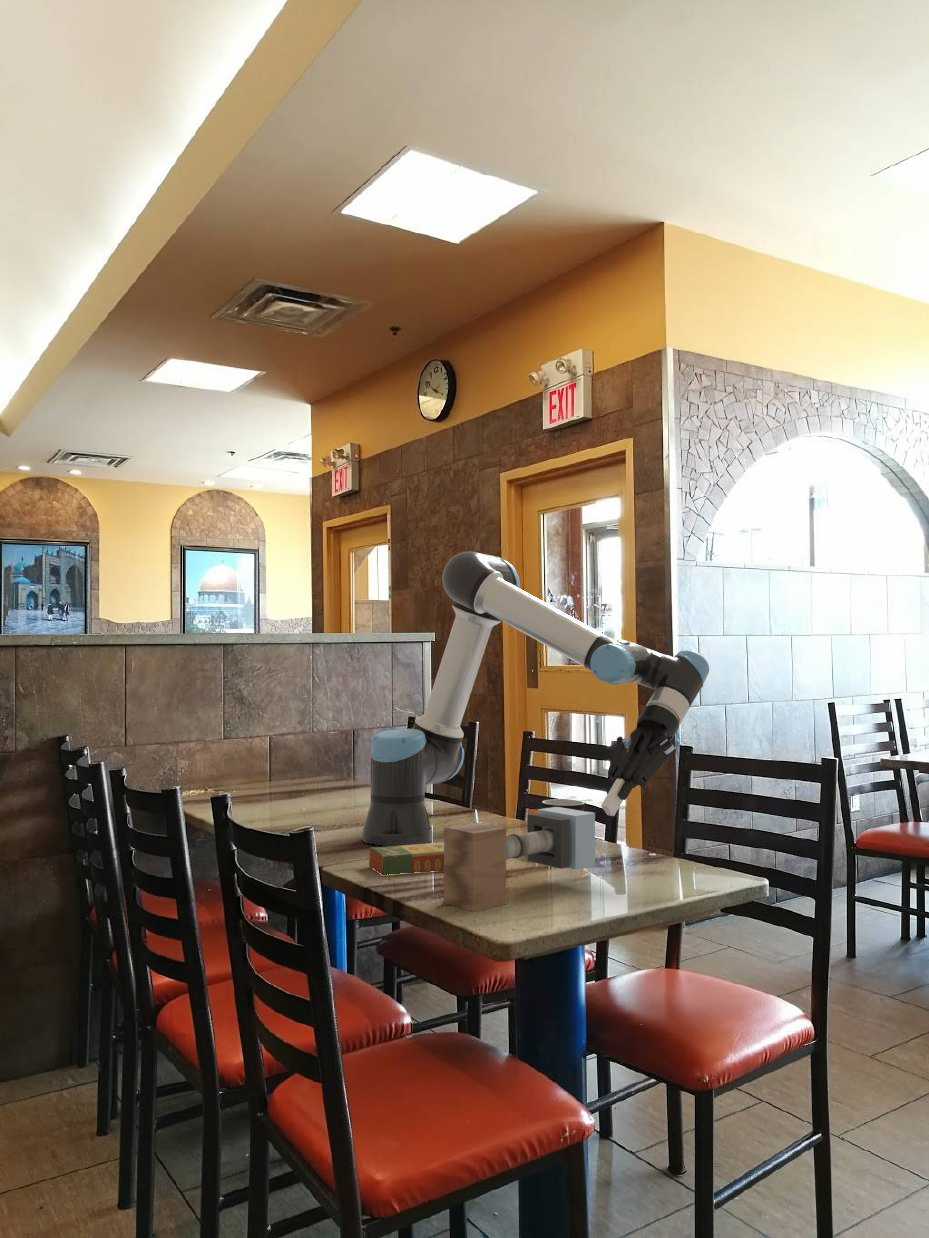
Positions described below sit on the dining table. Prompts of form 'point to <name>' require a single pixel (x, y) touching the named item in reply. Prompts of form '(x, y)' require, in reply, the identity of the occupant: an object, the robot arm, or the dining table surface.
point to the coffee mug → (564, 804)
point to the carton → (407, 858)
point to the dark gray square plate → (560, 839)
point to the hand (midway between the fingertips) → (607, 810)
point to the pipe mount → (484, 862)
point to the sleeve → (577, 835)
